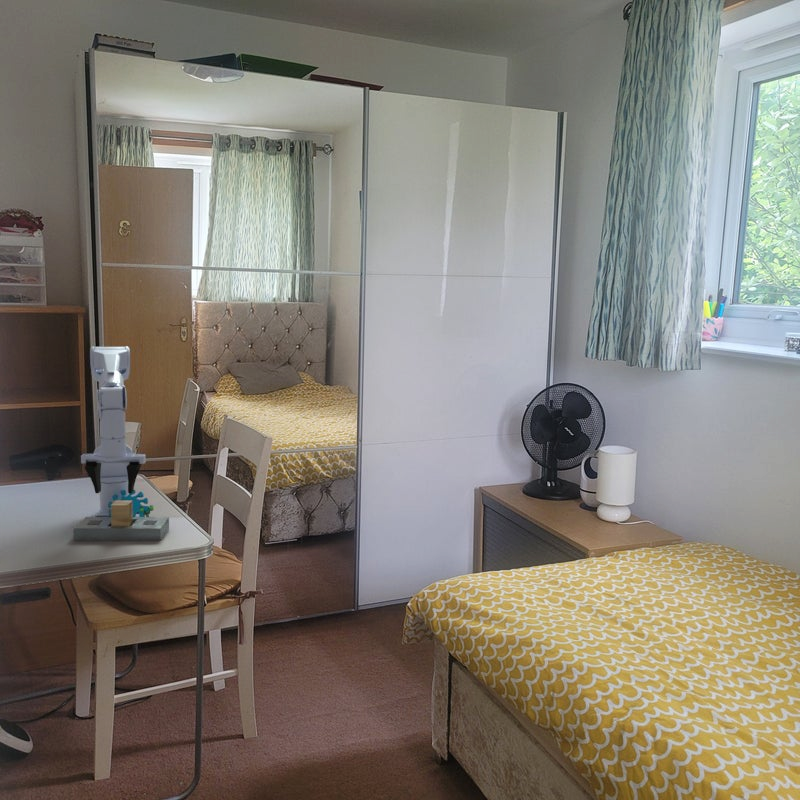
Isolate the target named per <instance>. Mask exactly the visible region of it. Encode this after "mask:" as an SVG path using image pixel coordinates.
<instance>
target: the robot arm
mask: <svg viewBox="0 0 800 800" xmlns="http://www.w3.org/2000/svg"><path fill="white" fill-rule="evenodd" d="M89 349H90V350H89V360H90V361H89V362H90V363H89V364H90V369H91V370H90V371H91V376H92V380H94V381H96V382H98V389H97V390H96V403H97V404H96V407H97V411H98V419H99V440H100V441H99V444H100V445H99V446H97V447H96V448H95V449H94V451H93V453H83V454H82V455H80V463H81V464H85V466H84V470H85V471H86V472H87V474H88V476H89V478H90V480H91V483H92V485H93V489H94V492H95V494H99V509H98V511H97V512H96V513H95V514H94V517H110V516H109V510H111V508H110V507H108V503H109V502H113V503H114V502H115V500H113V498H112V496H113V495H115V494H117V496H118V500H121V498H122V495H121V492H120V491H121V490H126V494H125V495H124V497H127V496H128V495H129V493H132V492H133V491H134V490H135V488H134V487H135V483H136V480H137V478H138V475H139V472H140V469H141V468H142V465H144V464H146V463H147V462H146V461H147V459H146V457H147V455H146V454H145V453H144V454H142V453H141V454H140V453H133V449H132V447H130V446H129V445H128V444H127V436H126V435H127V433H126V411H127V408H128V407H127V406H128V399H127V397H128V396H127V395H128V393H127V389H126V386H125V384H124V383H125V381H126V380H129V376H130V375H131V374H130V371H131V351H130V347H129V346H128V345H126V346H94V345H92V346H91V347H90V348H89Z"/></svg>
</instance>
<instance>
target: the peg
mask: <svg viewBox="0 0 800 800" xmlns="http://www.w3.org/2000/svg"><path fill="white" fill-rule="evenodd" d="M110 517H111V526H132V525H133V502H132V501H115V502H114V503H113V504H111V516H110Z"/></svg>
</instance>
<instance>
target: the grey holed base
mask: <svg viewBox="0 0 800 800" xmlns="http://www.w3.org/2000/svg"><path fill="white" fill-rule="evenodd" d="M169 530H170V517H169V516H149V517H146V516H145V517H139V516H135V517H133V525H132V526H111V516H85V517H84V518H83V519H82V520H81V521H80V522H79V523H78V524H76V525H75V526H74V527H73V541H74V542H75V541H78V542H79V541H81V542H82V541H83V542H84V541H85V542H86V541H87V542H89V541H91V542H92V541H93V542H95V541H96V542H97V541H98V542H101V541H102V542H103V541H104V542H105V541H107V542H108V541H110V542H112V541H113V542H118V541H120V542H122V541H124V542H125V541H126V542H131V541H132V542H137V541H138V542H139V541H141V542H145V541H149V542H151V541H152V542H156V541H157V542H160V541H162V539H163V538H164V537H165V535H166V534H167V532H168V531H169Z"/></svg>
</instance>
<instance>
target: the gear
mask: <svg viewBox="0 0 800 800" xmlns="http://www.w3.org/2000/svg"><path fill="white" fill-rule="evenodd" d="M120 492H121V495H122V498H121V500H118V496H117V494H115V495H113V496H112V498H113V500H115V501H132V502H133V517H137V515H139V516H138V517H150V514H151V512H153V511H154V506H153V504H151V505H150V504H149V499H148V497H145V498H144V495H145V494H144V493H143V492H142V491H139V492H138V493H137V492H136V489H134V491H133V492H132V493H129V495H128V496H127V497H124V495H125V494H126V490H121V491H120ZM136 493H137V494H136ZM138 498H141V499H138ZM142 498H143V499H142ZM141 503H142V504H145V505H142V504H141ZM111 504H113V502H109V503H108V507H110V508H111ZM148 504H149V505H148ZM108 517H111V510H109V516H108Z"/></svg>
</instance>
